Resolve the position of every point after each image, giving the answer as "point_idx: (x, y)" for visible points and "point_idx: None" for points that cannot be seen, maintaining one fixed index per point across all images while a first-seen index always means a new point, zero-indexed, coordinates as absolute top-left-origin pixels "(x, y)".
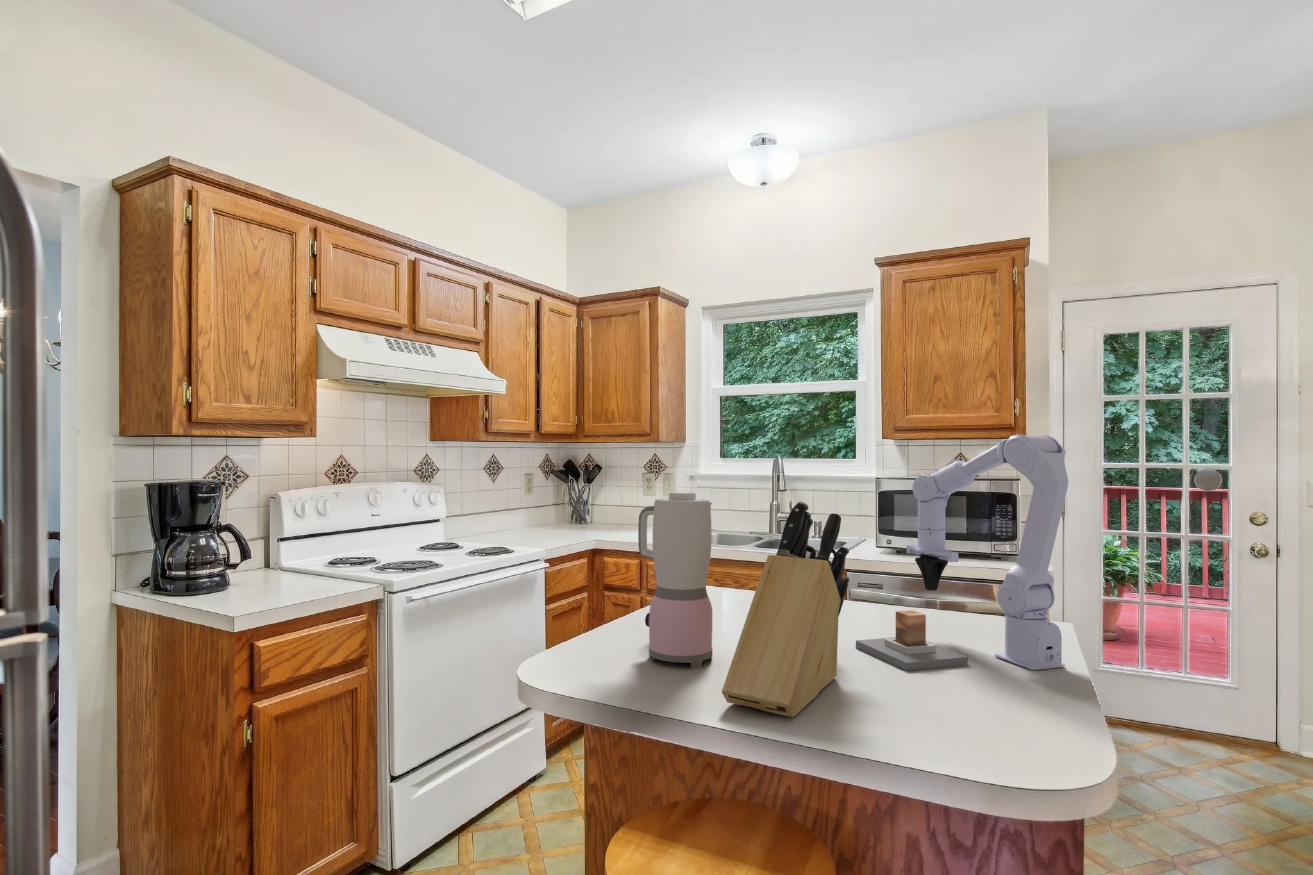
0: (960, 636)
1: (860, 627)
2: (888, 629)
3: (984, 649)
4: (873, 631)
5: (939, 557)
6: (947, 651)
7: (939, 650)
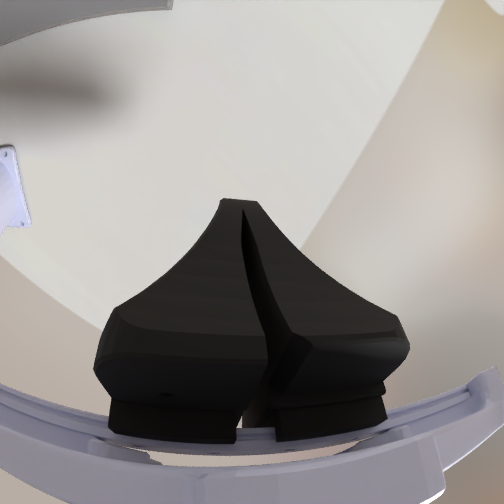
0: (182, 203)
1: (397, 21)
2: (343, 68)
3: (63, 168)
4: (345, 9)
5: (99, 430)
6: (12, 24)
7: (24, 8)
